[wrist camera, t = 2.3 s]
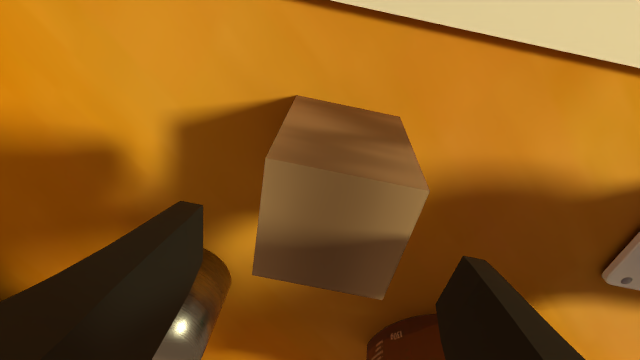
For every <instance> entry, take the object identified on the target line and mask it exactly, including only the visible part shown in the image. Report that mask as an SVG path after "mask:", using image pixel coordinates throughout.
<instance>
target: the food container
mask: <svg viewBox="0 0 640 360" xmlns="http://www.w3.org/2000/svg"><path fill="white" fill-rule="evenodd" d="M367 360H445V356H444V352H443V348H442V344H441V340H440V333H439V327H438V319H437V314H428V315H420V316H415V317H411V318H407V319H404V320H401V321H398V322H396V323H394V324H392V325H390V326H387V327H386V328H384V329H383V330H381V331H380V332H379V333H377V334H376V335H375V336H374V337H373V338H372V339H371V341H370V342H369V343H368V345H367Z"/></svg>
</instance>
